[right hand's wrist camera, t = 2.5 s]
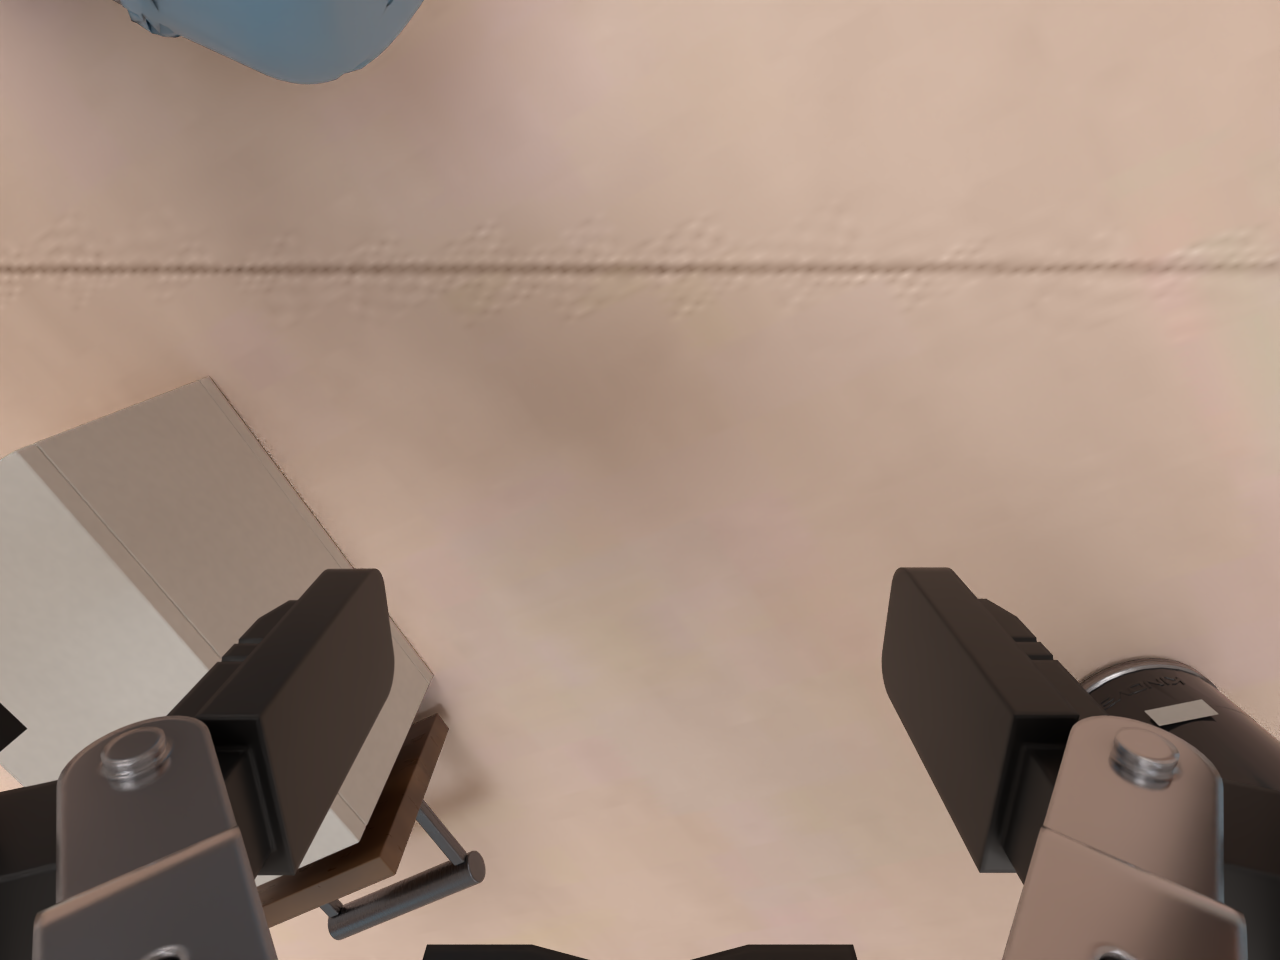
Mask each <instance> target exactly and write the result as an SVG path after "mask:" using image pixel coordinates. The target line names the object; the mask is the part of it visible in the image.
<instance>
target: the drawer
mask: <svg viewBox="0 0 1280 960" xmlns="http://www.w3.org/2000/svg"><path fill="white" fill-rule="evenodd" d="M448 730H449V728H448V727H447V725H446V724H445V723H444V721H443V720H442V719H441V718H440V716H439V715H438V714H435V715H432V716H430V717H428V718H426V719H424V720H422V721H419V722H417V723H415V724H413V725H411V727H410V729H409V731H408V734H407V736H406V738H405V740H404V743H403V745H402V747H401V749H400V752H399V754H398V756H397V758H396V761H395V763H394V765H393V767H392V770H391V772H390V774H389V777H388V779H387V781H386V783H385V786H384V788H383V790H382V792H381V795H380V797H379V799H378V801H377V804H376V806H375V808H374V810H373V813H372V815H371V817H370V819H369V822H368V824H367V825H366V828H365V830H364V832H363V834H362V837H361V839H360V841H359V842H358V843H356V844H354V845H352V846H349V847H347V848H345V849H342V850H340V851H338V852H335V853H333V854H331V855H329V856H326V857H324V858H322V859H319V860H317V861H315V862H312V863H310V864H308V865H306V866H303V867H301V868H299V869H298V870H297V872H296V874H295V875H282V876H280V877H278V878H276V879H273V880H271V881H269V882H266V883H264V884H262V885H259V886H257V890H258V893H259V897H260V900H261V903H262V907H263V910H264V914H265V917H266V920H267V924H268V927H269V928H270V927H272V926H275V925H277V924H280V923H282V922H284V921H287V920H289V919H291V918H294V917H296V916H299V915H301V914H303V913H306V912H308V911H310V910H313V909H315V908H318V907H320V908H321V909H322V910H323V911H324V912H325V913H326V914H327V915H328V916H329V919H328V929H329V932H330V935H331V936H332V937H333V938H334V939H336V940H342V939H344V938H346V937H349V936H351V935H354V934H356V933H359V932H361V931H364V930H366V929H368V928H371V927H373V926H376V925H378V924H381V923H383V922H385V921H388V920H390V919H393V918H395V917H398V916H400V915H403V914H405V913H407V912H410V911H412V910H415V909H417V908H420V907H422V906H425V905H427V904H429V903H432V902H434V901H437V900H439V899H442V898H444V897H447V896H449V895H451V894H454V893H456V892H459V891H461V890H464V889H466V888H468V887H471V886H473V885H476V884H478V883H481V882H482V881H483V879H484V877H485V864H484V860H483V858H482V856H481V855H480V853H478V852H477V851H471V852H469V853H466V851H465V850H464V849H463V848H462V847H461V845H460V844H459V843H458V842H457V840H456V839H455V838H454V837H453V836H452V834H451V833H450V832H449V831H448V829H447V828H446V827H445V826H444V825H443V823H442V822H441V821H440V820H439V818H438V817H437V816H436V815H435V813H434V812H433V811H432V810H431V809H430V807H429V806H428V805H427V804H426V802H425V801H424V800H423V798H424V795H425V793H426V790H427V787H428V784H429V782H430V779H431V776H432V773H433V771H434V768H435V765H436V762H437V760H438V757H439V754H440V752H441V749H442V746H443V743H444V741H445V738H446V735H447V732H448ZM415 820H417V821H418V822H419V824H420V825H421V826H422V827H423V829H424V830H425V831H426V832H427V833H428V835H429V836H430V837H431V838H432V839H433V841H434V842H435V843H436V844H437V845H438V847H439V848H440V849H441V850H442V851H443V853H444V854H445V855H446V856H447V857H448V859H449V860H450V861H447V862H445V863H442V864H440V865H438V866H435V867H433V868H430V869H428V870H426V871H423V872H421V873H419V874H416V875H414V876H411V877H409V878H407V879H404V880H402V881H399V882H397V883H395V884H392V885H390V886H388V887H385V888H383V889H380V890H378V891H376V892H373V893H371V894H368V895H366V896H364V897H361V898H359V899H356V900H354V901H352V902H349V903H347V904H345V905H343V904H342V903H341V902H340V901H339V900H338V899H339V898H341V897H344V896H346V895H348V894H351V893H353V892H356V891H358V890H360V889H363V888H365V887H367V886H370V885H372V884H374V883H377V882H379V881H382V880H384V879H386V878H389V877H391V876H393V875H395V874H396V872H397V869H398V866H399V863H400V861H401V858H402V855H403V853H404V850H405V847H406V844H407V842H408V839H409V836H410V833H411V831H412V828H413V825H414V823H415Z"/></svg>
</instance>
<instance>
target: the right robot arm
mask: <svg viewBox="0 0 1280 960" xmlns="http://www.w3.org/2000/svg"><path fill="white" fill-rule="evenodd" d="M394 665H395V661H394V650H393V643H392V635H391V628H390V621H389V614H388V607H387V600H386V593H385V586H384V581H383V577H382V575H381V573H380V571H379V570H378V569H326V570H324V571H323V572H322V573H321V574H320V575H319V577H318V578H317V579H316V580H315V581H314V582H313V583H312V584H311V586H310V587H309V588H308V589H307V590H306V591H305V592H304V593H303V595H302V596H301V597H300V598H299V599H298V600H289V601H287V602H285V603H284V604H282V605H280V606H278V607H277V608H275V609H273V610H272V611H270V612H268V613H267V614H265V615H263V616H261V617H260V618H258V619H257V620H256V621H255V622H254V624H253V625H252V626H251V627H250V628H249V629H248V630H247V631H246V632H245V633H244V634H243V635H242V636H241V637H240V638H239V642H238V644H234V645H233V646H232V647H231V648H230V649H229V650H228V651H227V652H226V653H225V654H224V655H223V656H222V661H221V662H217V663H216V664H215V665H214V666H213V667H212V668H211V669H210V670H209V671H208V672H207V673H206V674H205V675H204V676H203V677H202V678H201V680H200V681H199V682H198V683H197V684H196V685H195V686H194V687H193V688H192V689H191V690H190V691H189V692H188V693H187V694H186V695H185V696H184V698H183V699H182V700H181V701H180V702H179V703H178V704H177V705H176V706H175V707H174V708H173V709H172V710H171V711H170V712H169V713H168V714H167V715H166V716H163V717H155V718H151V719H146V720H142V721H139V722H136V723H132V724H130V725H127V726H124V727H122V728H119V729H117V730H115V731H113V732H110V733H108V734H106V735H105V736H103V737H101V738H99V739H97V740H96V741H94V742H93V743H91V744H90V745H88V746H87V747H85V748H84V749H83V750H81V751H80V752H79V753H78V754H76V755H75V756H74V757H73V758H72V759H71V760H70V761H69V762H68V763H67V765H66V766H65V767H64V769H63V770H62V772H61V774H60V776H59V778H58V780H55V781H51V782H46V783H41V784H36V785H32V786H27V787H22V788H18V789H13V790H8V791H3V792H0V960H278V958H277V955H276V951H275V948H274V944H273V941H272V938H271V934H270V931H269V927H268V924H267V920H266V917H265V914H264V910H263V907H262V903H261V900H260V897H259V893H258V890H257V886H256V883H255V879H256V877H257V875H295V874H296V872H297V870H298V868H299V866H300V864H301V862H302V860H303V859H304V857H305V855H306V853H307V851H308V849H309V847H310V845H311V843H312V841H313V839H314V838H315V836H316V834H317V832H318V830H319V828H320V826H321V824H322V822H323V820H324V818H325V816H326V815H327V813H328V811H329V809H330V807H331V805H332V803H333V801H334V799H335V797H336V795H337V794H338V792H339V790H340V788H341V786H342V784H343V782H344V780H345V778H346V776H347V774H348V773H349V771H350V769H351V767H352V765H353V763H354V761H355V759H356V757H357V755H358V753H359V751H360V750H361V748H362V746H363V744H364V742H365V740H366V738H367V736H368V734H369V732H370V730H371V729H372V727H373V725H374V723H375V721H376V719H377V717H378V715H379V713H380V711H381V709H382V708H383V706H384V704H385V702H386V700H387V698H388V696H389V693H390V690H391V687H392V683H393V677H394ZM882 673H883V680H884V684H885V688H886V691H887V694H888V696H889V698H890V700H891V702H892V704H893V706H894V708H895V710H896V712H897V714H898V715H899V717H900V719H901V721H902V723H903V725H904V727H905V729H906V731H907V733H908V735H909V737H910V739H911V741H912V743H913V745H914V746H915V748H916V750H917V752H918V754H919V756H920V758H921V760H922V762H923V764H924V766H925V768H926V770H927V772H928V774H929V775H930V777H931V779H932V781H933V783H934V785H935V787H936V789H937V791H938V793H939V795H940V797H941V799H942V801H943V803H944V805H945V806H946V808H947V810H948V812H949V814H950V816H951V818H952V820H953V822H954V824H955V826H956V828H957V830H958V832H959V834H960V835H961V837H962V839H963V841H964V843H965V845H966V847H967V849H968V851H969V853H970V855H971V857H972V859H973V861H974V863H975V865H976V866H977V868H978V870H979V872H980V873H1017V874H1018V876H1019V878H1020V879H1021V881H1022V883H1023V885H1024V886H1023V890H1022V893H1021V897H1020V900H1019V903H1018V907H1017V910H1016V914H1015V917H1014V920H1013V924H1012V927H1011V931H1010V934H1009V938H1008V941H1007V944H1006V948H1005V951H1004V955H1003V958H1002V960H1280V741H1279V740H1277V739H1276V738H1275V737H1274V736H1272V735H1271V734H1270V733H1269V732H1268V731H1266V730H1265V729H1264V728H1263V727H1262V726H1260V725H1259V724H1258V723H1257V722H1256V721H1255V720H1253V719H1252V718H1251V717H1250V716H1249V715H1247V714H1246V713H1245V712H1244V711H1243V710H1241V709H1240V708H1239V707H1238V706H1236V705H1235V704H1234V703H1233V702H1232V701H1230V700H1229V699H1228V698H1227V697H1226V696H1224V695H1223V694H1222V693H1221V692H1219V690H1218V689H1217V688H1216V686H1215V685H1214V684H1212V683H1211V682H1210V681H1209V680H1208V679H1207V678H1205V677H1204V676H1203V675H1202V674H1201V673H1199V672H1198V671H1197V670H1195V669H1193V668H1191V667H1190V666H1187V665H1185V664H1183V663H1180V662H1176V661H1172V660H1166V659H1139V660H1133V661H1128V662H1124V663H1121V664H1117V665H1115V666H1112V667H1109V668H1107V669H1105V670H1103V671H1100V672H1099V673H1097V674H1095V675H1093V676H1092V677H1090V678H1089V679H1087V680H1086V681H1084V682H1083V683H1082V684H1079V683H1078V682H1077V681H1076V679H1075V678H1074V677H1073V676H1072V675H1071V674H1070V673H1069V672H1068V671H1067V670H1066V669H1065V668H1064V667H1063V666H1062V665H1061V663H1060V662H1059V661H1058V660H1053V655H1052V654H1051V653H1050V652H1049V651H1048V650H1047V649H1046V648H1045V646H1044V645H1043V644H1042V643H1041V642H1037V641H1036V637H1035V636H1034V635H1033V634H1032V633H1031V632H1030V630H1029V629H1028V628H1027V627H1026V626H1025V625H1024V624H1023V623H1022V622H1021V621H1020V620H1019V619H1018V618H1017V617H1016V616H1014V615H1013V614H1011V613H1009V612H1008V611H1006V610H1004V609H1003V608H1001V607H999V606H998V605H996V604H994V603H992V602H991V601H989V600H987V599H977V597H976V596H975V595H974V594H973V593H972V592H971V591H970V589H969V588H968V587H967V586H966V585H965V584H964V583H963V582H962V580H961V579H960V578H959V577H958V576H957V575H956V574H955V572H954V571H953V570H952V569H950V568H898V569H897V570H896V572H895V574H894V576H893V580H892V585H891V592H890V600H889V607H888V614H887V622H886V629H885V636H884V643H883V651H882ZM423 960H588V959H584V958H580V957H576V956H573V955H569V954H565V953H561V952H558V951H554V950H550V949H546V948H543V947H539V946H535V945H427V947H426V950H425V953H424V957H423ZM692 960H857V957H856V953H855V950H854V947H853V945H745V946H741V947H737V948H734V949H730V950H726V951H722V952H719V953H715V954H711V955H707V956H704V957H700V958H696V959H692Z"/></svg>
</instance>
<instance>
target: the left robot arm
mask: <svg viewBox="0 0 1280 960" xmlns="http://www.w3.org/2000/svg"><path fill="white" fill-rule="evenodd" d="M114 1H115V2H117V3H119V4H121V5H123V7H124V8H126V9H127V10H128V12H129V15H130V18H131V20H132V21H133V22H136V23H138V24H139V25H141V26H142V27H144V28H145V29H146V30H148V31H150V32H151V33H153V34H158V35H160V36H164V37H179V36H182V37H185V38H187V39H189V40H191V41H193V42H195V43H198V44H200V45H202V46H204V47H206V48H209V49H211V50H213V51H215V52H217V53H219V54H222V55H224V56H226V57H228V58H230V59H232V60H235V61H237V62H239V63H241V64H243V65H246V66H248V67H250V68H252V69H254V70H256V71H259V72H261V73H263V74H265V75H268V76H270V77H273V78H276V79H278V80H282V81H286V82H291V83H297V84H318V83H324V82H329V81H332V80H336V79H338V78H339V77H340V76H341V75H343V74H344V73H349V72H351V71H355V70H358V69H361V68H363V67H364V66H366V65H367V64H368V63H370V62H371V61H372V60H374V59H375V58H376V57H378V56H379V55H380V54H381V53H382V52H383V51H384V50H385V49H386V48H387V47H388V46H389V45H390V44H391V43H392V42H393V40H394V39H395V38H396V37H397V36H398V35H399V34H400V32H401V31H402V30H403V29H404V27H405V26H406V25H407V23H408V22H409V21H410V19H411V18H412V16H413V15H414V14H415V12H416V11H417V10H418V8H419V7H420V5H421V4H422V2H423V0H114ZM25 730H27V728H26V727H25V726H24V725H23V724H22V723H21V722H20V721H19V720H18V719H17V718H16V717H15V716H14V715H13V714H12V713H11V712H10V711H8V710H7V709H6V708H5V707H4V706H3V705H2V704H1V703H0V752H1V751H2V750H3V749H4V748H5V747H7V746H8V745H9V744H10V743H11V742H12V741H14V740H15V739H16V738H17V737H18V736H20V735H21V734H22V733H23V732H24V731H25Z"/></svg>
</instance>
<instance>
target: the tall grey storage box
mask: <svg viewBox="0 0 1280 960" xmlns="http://www.w3.org/2000/svg"><path fill="white" fill-rule="evenodd" d="M326 569H353V567H352V566H351V565H350V563H349V562H348V561H347V559H346V558H345V557H344V555H343V554H342V553H341V551H340V550H339V549H338V547H337V546H336V545H335V543H334V542H333V541H332V539H331V538H330V537H329V535H328V534H327V533H326V531H325V530H324V529H323V527H322V526H321V525H320V523H319V522H318V521H317V519H316V518H315V517H314V515H313V514H312V513H311V511H310V510H309V509H308V507H307V506H306V505H305V503H304V502H303V501H302V499H301V498H300V497H299V495H298V494H297V493H296V491H295V490H294V489H293V487H292V486H291V485H290V483H289V482H288V481H287V479H286V478H285V477H284V475H283V474H282V473H281V471H280V470H279V469H278V467H277V466H276V465H275V463H274V462H273V461H272V459H271V458H270V457H269V455H268V454H267V453H266V451H265V450H264V449H263V447H262V446H261V445H260V443H259V442H258V441H257V440H256V438H255V437H254V436H253V434H252V433H251V432H250V430H249V429H248V428H247V426H246V425H245V424H244V422H243V421H242V420H241V418H240V417H239V416H238V414H237V413H236V412H235V410H234V409H233V408H232V406H231V405H230V404H229V402H228V401H227V400H226V398H225V397H224V396H223V394H222V393H221V392H220V390H219V389H218V388H217V386H216V385H215V384H214V382H213V381H212V380H211V378H210V377H206V378H203V379H201V380H198V381H195V382H193V383H190V384H188V385H185V386H182V387H180V388H177V389H175V390H172V391H169V392H167V393H164V394H161V395H159V396H156V397H154V398H151V399H148V400H146V401H143V402H141V403H138V404H135V405H133V406H130V407H127V408H125V409H122V410H120V411H117V412H114V413H112V414H109V415H107V416H104V417H101V418H99V419H96V420H93V421H91V422H88V423H86V424H83V425H80V426H78V427H75V428H73V429H70V430H67V431H65V432H62V433H60V434H57V435H54V436H52V437H49V438H46V439H44V440H41V441H39V442H36V443H34V444H32V445H29V446H26V447H23V448H21V449H18V450H15V451H13V452H12V453H10V454H8V455H7V456H5V457H3V458H2V459H0V703H1V704H2V705H3V706H4V707H5V708H6V709H7V710H8V711H10V712H11V713H12V714H13V715H14V716H15V717H16V718H17V719H18V720H19V721H20V722H21V723H22V724H23V725H24V726H25V727H26V728H27V730H25V731H24V732H23V733H22V734H21V735H20V736H18V737H17V738H16V739H15V740H14V741H12V742H11V743H10V744H9V745H8V746H7V747H5V748H4V749H3V750H2V751H1V752H0V765H1V766H2V767H4V768H5V769H6V770H7V771H8V772H9V773H10V774H11V775H12V776H13V777H14V778H15V779H16V780H17V781H18V782H19V783H20V784H22V785H23V786H24V787H27V786H32V785H36V784H41V783H46V782H51V781H55V780H58V778H59V776H60V774H61V772H62V770H63V769H64V767H65V766H66V765H67V763H68V762H69V761H70V760H71V759H72V758H73V757H74V756H75V755H76V754H78V753H79V752H80V751H81V750H83V749H84V748H85V747H87V746H88V745H90V744H91V743H93V742H94V741H96V740H97V739H99V738H101V737H103V736H105V735H106V734H108V733H110V732H113V731H115V730H117V729H119V728H122V727H124V726H127V725H130V724H132V723H136V722H139V721H142V720H146V719H151V718H155V717H163V716H166V715H167V714H168V713H169V712H170V711H171V710H172V709H173V708H174V707H175V706H176V705H177V704H178V703H179V702H180V701H181V700H182V699H183V698H184V696H185V695H186V694H187V693H188V692H189V691H190V690H191V689H192V688H193V687H194V686H195V685H196V684H197V683H198V682H199V681H200V680H201V678H202V677H203V676H204V675H205V674H206V673H207V672H208V671H209V670H210V669H211V668H212V667H213V666H214V665H215V664H216V663H217V662H221V661H222V656H223V655H224V654H225V653H226V652H227V651H228V650H229V649H230V648H231V647H232V646H233V645H234V644H238V642H239V638H240V637H241V636H242V635H243V634H244V633H245V632H246V631H247V630H248V629H249V628H250V627H251V626H252V625H253V624H254V622H255V621H256V620H257V619H258V618H260V617H261V616H263V615H265V614H267V613H268V612H270V611H272V610H273V609H275V608H277V607H278V606H280V605H282V604H284V603H285V602H287V601H289V600H298V599H299V598H300V597H301V596H302V595H303V593H304V592H305V591H306V590H307V589H308V588H309V587H310V586H311V584H312V583H313V582H314V581H315V580H316V579H317V578H318V577H319V575H320V574H321V573H322V572H323V571H324V570H326ZM389 621H390V628H391V635H392V643H393V650H394V661H395V665H394V677H393V683H392V687H391V690H390V693H389V696H388V698H387V700H386V702H385V704H384V706H383V708H382V709H381V711H380V713H379V715H378V717H377V719H376V721H375V723H374V725H373V727H372V729H371V730H370V732H369V734H368V736H367V738H366V740H365V742H364V744H363V746H362V748H361V750H360V751H359V753H358V755H357V757H356V759H355V761H354V763H353V765H352V767H351V769H350V771H349V773H348V774H347V776H346V778H345V780H344V782H343V784H342V786H341V788H340V790H339V792H338V794H337V795H336V797H335V799H334V801H333V803H332V805H331V807H330V809H329V811H328V813H327V815H326V816H325V818H324V820H323V822H322V824H321V826H320V828H319V830H318V832H317V834H316V836H315V838H314V839H313V841H312V843H311V845H310V847H309V849H308V851H307V853H306V855H305V857H304V859H303V860H302V862H301V864H300V866H299V868H301V867H303V866H306V865H308V864H310V863H312V862H315V861H317V860H319V859H322V858H324V857H326V856H329V855H331V854H333V853H335V852H338V851H340V850H342V849H345V848H347V847H349V846H352V845H354V844H356V843H358V842H359V841H360V839H361V837H362V834H363V832H364V830H365V828H366V825H367V824H368V822H369V819H370V817H371V815H372V813H373V810H374V808H375V806H376V804H377V801H378V799H379V797H380V795H381V792H382V790H383V788H384V786H385V783H386V781H387V779H388V777H389V774H390V772H391V770H392V767H393V765H394V763H395V761H396V758H397V756H398V754H399V752H400V749H401V747H402V745H403V743H404V740H405V738H406V736H407V734H408V731H409V729H410V727H411V725H412V722H413V720H414V718H415V715H416V713H417V711H418V709H419V706H420V704H421V702H422V700H423V697H424V695H425V693H426V691H427V688H428V686H429V684H430V682H431V679H432V677H433V674H432V673H431V671H430V670H429V669H428V667H427V666H426V665H425V663H424V662H423V661H422V659H421V658H420V657H419V655H418V654H417V653H416V651H415V650H414V649H413V647H412V646H411V645H410V643H409V642H408V641H407V639H406V638H405V637H404V635H403V634H402V633H401V631H400V630H399V629H398V627H397V626H396V625H395V623H394V622H393V621H392V619H391V618H390V617H389ZM299 868H298V869H299ZM280 876H282V875H257V877H256V879H255V883H256V886H259V885H262V884H264V883H266V882H269V881H271V880H273V879H276V878H278V877H280Z"/></svg>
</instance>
